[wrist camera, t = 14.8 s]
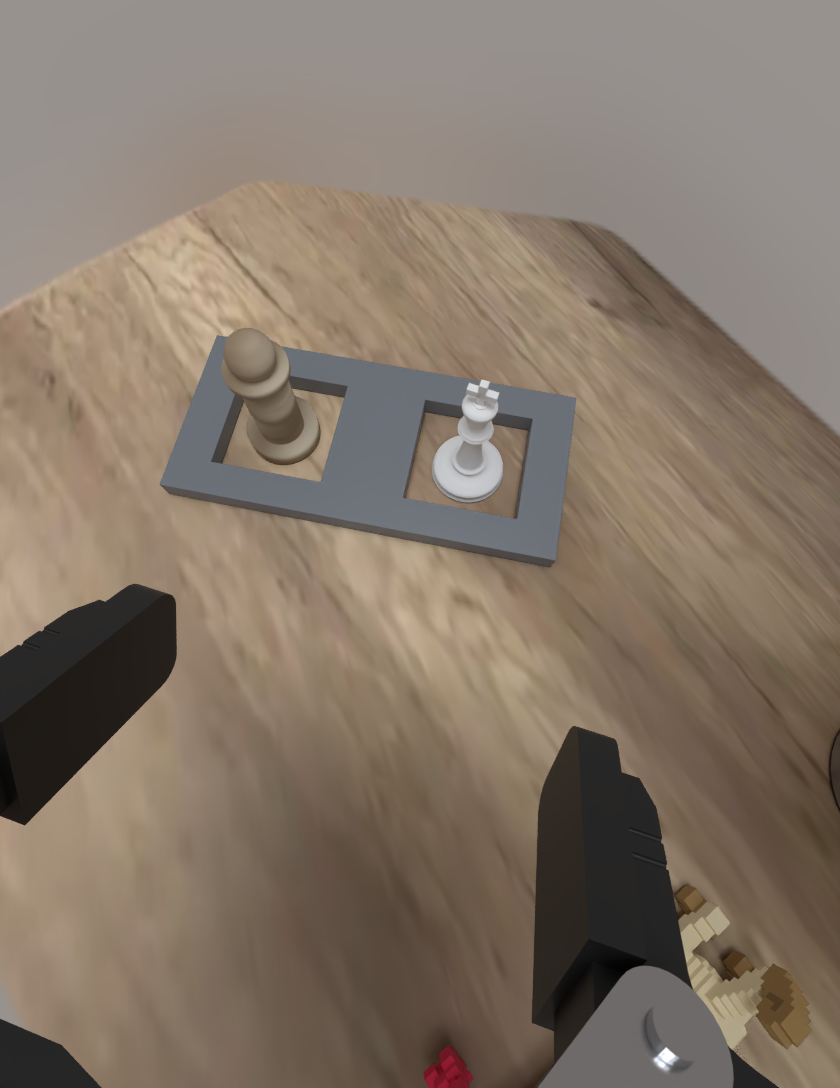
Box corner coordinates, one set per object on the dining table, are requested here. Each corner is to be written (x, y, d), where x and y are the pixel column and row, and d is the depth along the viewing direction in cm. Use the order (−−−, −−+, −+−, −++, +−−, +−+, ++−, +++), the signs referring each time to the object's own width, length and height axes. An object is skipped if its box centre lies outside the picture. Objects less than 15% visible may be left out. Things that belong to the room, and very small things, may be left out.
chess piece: (446, 429, 38) (455, 332, 29) (512, 452, 37) (544, 361, 28) (421, 488, 37) (422, 407, 27) (489, 513, 36) (515, 439, 27)
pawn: (327, 410, 38) (298, 309, 29) (310, 470, 37) (273, 383, 27) (263, 399, 39) (213, 295, 29) (243, 457, 37) (184, 368, 28)
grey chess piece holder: (570, 409, 39) (576, 397, 37) (550, 566, 35) (555, 560, 33) (224, 349, 40) (217, 335, 39) (169, 493, 36) (159, 484, 35)
